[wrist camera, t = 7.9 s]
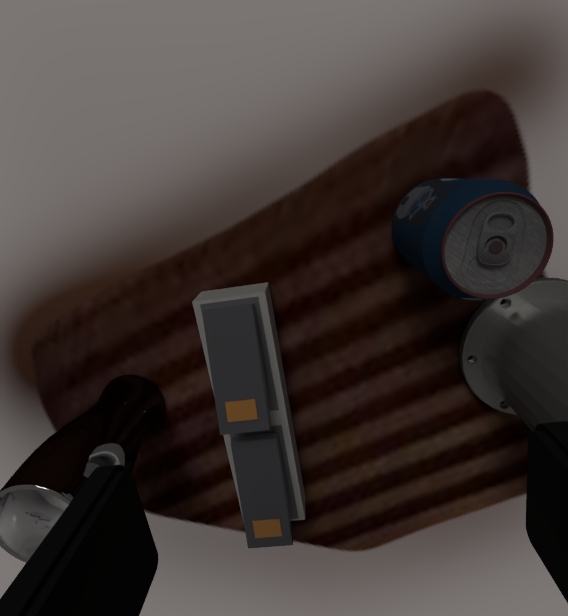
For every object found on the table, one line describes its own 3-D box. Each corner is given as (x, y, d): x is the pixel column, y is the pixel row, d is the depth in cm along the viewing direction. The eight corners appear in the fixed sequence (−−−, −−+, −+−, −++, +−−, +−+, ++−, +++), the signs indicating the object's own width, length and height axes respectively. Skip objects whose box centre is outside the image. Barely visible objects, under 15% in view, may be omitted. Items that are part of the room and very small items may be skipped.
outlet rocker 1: (254, 303, 33) (251, 304, 31) (271, 424, 33) (269, 430, 32) (205, 309, 33) (201, 310, 32) (223, 429, 34) (219, 435, 32)
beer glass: (159, 441, 41) (80, 583, 27) (92, 418, 41) (-24, 549, 26) (177, 384, 39) (102, 505, 25) (107, 359, 38) (-10, 467, 24)
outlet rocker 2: (277, 432, 36) (276, 438, 35) (293, 535, 37) (292, 545, 36) (233, 436, 36) (230, 443, 35) (250, 538, 38) (248, 549, 36)
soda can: (466, 267, 34) (547, 314, 23) (383, 262, 34) (421, 305, 23) (484, 180, 32) (582, 183, 20) (394, 175, 32) (442, 175, 21)
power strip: (201, 291, 36) (191, 302, 33) (268, 282, 35) (264, 292, 32) (248, 501, 43) (244, 525, 40) (305, 496, 42) (305, 520, 39)
